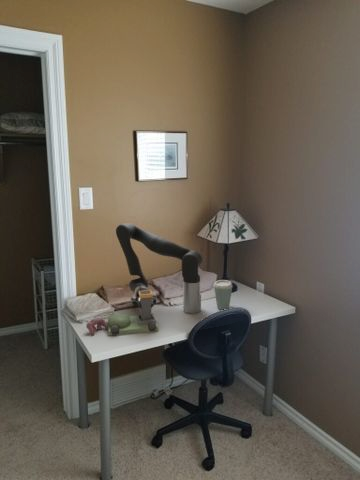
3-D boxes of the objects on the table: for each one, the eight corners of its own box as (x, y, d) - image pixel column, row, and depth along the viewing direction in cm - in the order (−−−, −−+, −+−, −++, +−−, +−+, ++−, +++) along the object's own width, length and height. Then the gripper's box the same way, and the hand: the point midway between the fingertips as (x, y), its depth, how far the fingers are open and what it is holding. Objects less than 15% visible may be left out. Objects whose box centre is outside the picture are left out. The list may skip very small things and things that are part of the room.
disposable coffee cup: (231, 312, 214) (232, 286, 211) (211, 310, 216) (212, 284, 213) (232, 304, 224) (233, 280, 221) (214, 303, 226) (214, 278, 223)
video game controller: (104, 329, 196) (100, 316, 197) (109, 328, 193) (105, 314, 194) (88, 336, 189) (83, 322, 190) (93, 335, 186) (88, 321, 186)
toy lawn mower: (153, 317, 207) (153, 308, 206) (158, 330, 191) (158, 321, 190) (107, 321, 202) (107, 312, 201) (108, 335, 186) (108, 325, 185)
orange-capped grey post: (151, 315, 201) (150, 290, 198) (152, 320, 195) (152, 294, 192) (139, 316, 200) (138, 290, 197) (140, 321, 194) (140, 295, 191)
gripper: (128, 288, 207) (131, 300, 191) (155, 286, 210) (160, 298, 194) (128, 302, 209) (132, 314, 192) (155, 299, 212) (160, 312, 195)
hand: (146, 306), depth 193 cm, fingers closed on orange-capped grey post, 5 cm apart
